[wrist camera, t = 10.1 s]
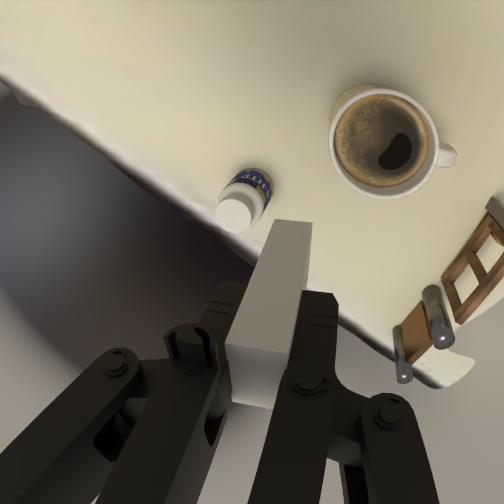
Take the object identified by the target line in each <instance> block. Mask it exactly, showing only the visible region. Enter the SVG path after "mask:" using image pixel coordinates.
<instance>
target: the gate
mask: <svg viewBox="0 0 504 504" xmlns="http://www.w3.org/2000/svg"><path fill="white" fill-rule="evenodd" d="M492 231H493V233H494V234H495V235H496V237H497V238H498V240H499V241H500V242H501V244H502V245H503V246H504V229H503V228H502V227H501V226H500V224H499V223H498V222H497V221H496V220H495V218H494V217H493V216H491V215H490V214H489V213H488V215H487V216H486V218H485V219H484V221H483V222H482V224H481V225H480V227H479V228H478V230H477V231H476V233H475V234H474V236H473V237H472V239H471V240H470V242H469V243H468V244H467V246H466V247H465V249H464V250H463V251H462V253H461V254H460V256H459V257H458V258H457V260H456V261H455V262H454V264H453V265H452V266H451V268H450V269H449V270H448V271H447V273H446V274H445V275H444V277H443V278H442V279H441V281H442V284H443V286H444V289H445V291H446V294H447V297H448V300H449V303H450V306H451V309H452V312H453V316H454V319H455V322H456V323H458V324H460V325H462V324H463V323H464V322H465V321H466V320H467V319H468V318H469V317H470V315H471V314H472V313H473V312H474V311H475V310H476V309H477V308H478V307H479V305H480V304H481V303H482V302H483V301H484V300H485V298H486V297H487V296H488V295H489V294H490V293H491V291H492V290H493V289H494V288H495V286H496V285H497V284H498V283H499V282H500V280H501V279H502V278H503V276H504V252H503V254H502V255H501V256H500V258H499V259H498V261H497V262H496V263H495V265H494V266H493V267H492V269H491V270H490V271H489V272H488V274H487V273H486V271H485V269H484V267H483V265H482V264H481V262H480V260H479V258H478V257H477V255H476V253H477V252H478V250H479V249H480V248H481V246H482V245H483V243H484V242H485V241H486V239H487V238H488V236H489V235H490V233H491V232H492ZM468 264H470V266H471V268H472V270H473V272H474V274H475V276H476V278H477V280H478V282H479V285H478V286H477V287H476V289H475V290H474V291H473V292H472V293H471V295H470V296H469V297H468V298H467V299H466V301H465V302H464V303H463V304H462V303H461V301H460V298H459V296H458V293H457V290H456V288H455V285H454V282H455V281H456V279H457V278H458V277H459V276H460V274H461V273H462V272H463V271H464V269H465V268H466V267H467V265H468Z"/></svg>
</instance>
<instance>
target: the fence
mask: <svg viewBox="0 0 504 504" xmlns="http://www.w3.org/2000/svg"><path fill="white" fill-rule="evenodd" d="M488 213H489V212H486V214H485V215H484V217H483V218H482V220H481V222H480V223H479V225H478V226H477V228H476V229H475V231H474V232H473V234H472V235H471V237H470V238H469V240H468V241H467V243H466V244H465V246H464V247H463V248H462V250H461V251H460V253H459V254H458V256H457V257H456V258H455V260H454V261H453V262H452V264H451V265H450V267H449V268H448V269H447V271H448V270H449V269H450V268H451V266H452V265H453V264H454V262H455V261H456V260H457V258H458V257H459V256H460V254H461V253H462V251H463V250H464V249H465V247H466V246H467V244H468V243H469V242H470V240H471V239H472V237H473V236H474V234H475V233H476V231H477V230H478V228H479V227H480V225H481V224H482V222H483V221H484V219H485V218H486V216H487V215H488ZM489 214H490V213H489ZM447 271H446V272H445V273H444V275H445V274H446V273H447ZM444 275H443V276H442V277H441V279H442V278H443V277H444ZM422 297H423V301H424V302H422V301H420V302H419V304H418V305H417V306H416V307H415V308H414V310H413V311H412V312H411V313H410V314H409V316H408V317H407V318H406V319H405V320H404V321H403V322H402V324H401V325H398V326H396V327H394V328H393V340H394V350H395V361H396V374H397V382H398V383H400V384H405V383H409V382H410V381H412V379H413V373H412V364H413V363H414V362H415V361H416V360H417V359H419V358H420V357H421V356H422V355H423V354H424V353H425V352H426V351H427V350H428V349H429V348H430V347H431V346H432V345H433V344H434V347H435V348H436V349H439V350H442V349H446V348H449V347H450V346H451V345H452V344H453V343H454V341H455V336H454V333H453V329H452V326H451V323H450V319H449V316H448V313H447V309H446V306H445V303H444V300H443V297H442V294H441V291H440V288H439V287H438V286H436V285H430V286H427V287H426V288H425V289H424V290H423V292H422Z"/></svg>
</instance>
